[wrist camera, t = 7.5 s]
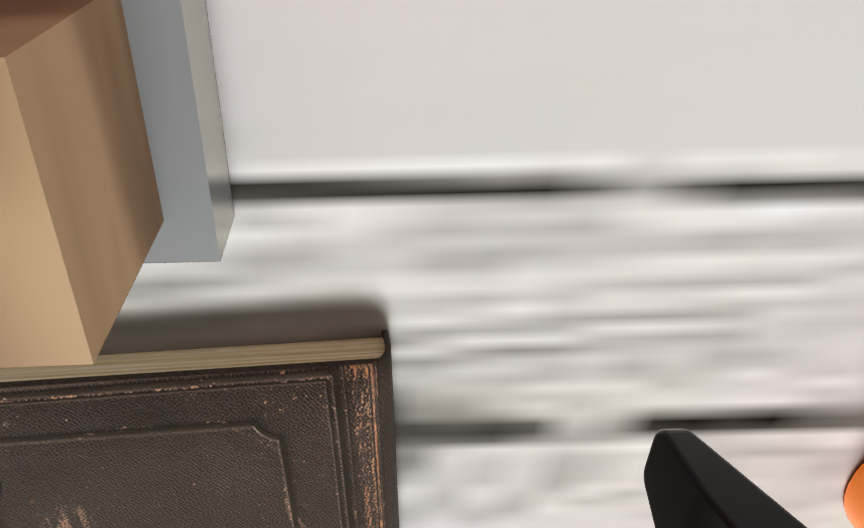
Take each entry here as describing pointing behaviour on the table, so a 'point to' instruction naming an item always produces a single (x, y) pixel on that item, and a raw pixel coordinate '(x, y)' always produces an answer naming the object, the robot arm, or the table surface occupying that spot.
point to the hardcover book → (203, 439)
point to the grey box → (182, 127)
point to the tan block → (69, 179)
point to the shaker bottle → (855, 499)
